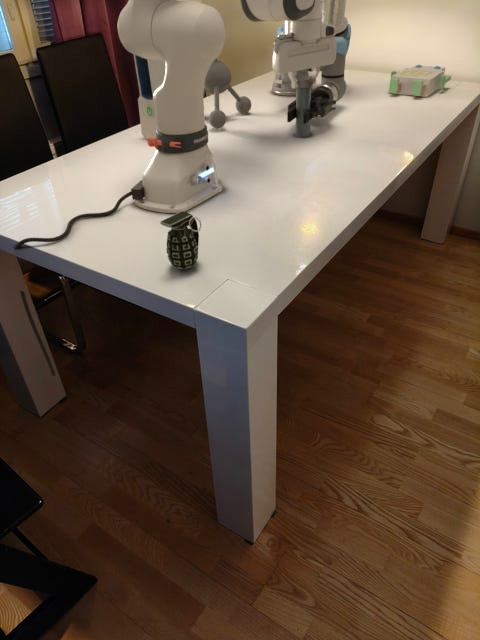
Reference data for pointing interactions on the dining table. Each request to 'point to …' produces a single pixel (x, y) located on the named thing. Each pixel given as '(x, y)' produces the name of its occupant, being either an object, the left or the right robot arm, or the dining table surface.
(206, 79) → the molecular model
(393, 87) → the decorative block
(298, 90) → the grey cylinder
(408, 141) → the dining table surface
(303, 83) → the lid
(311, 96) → the right robot arm
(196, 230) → the grenade
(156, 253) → the dining table surface
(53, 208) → the dining table surface
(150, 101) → the electronic device
